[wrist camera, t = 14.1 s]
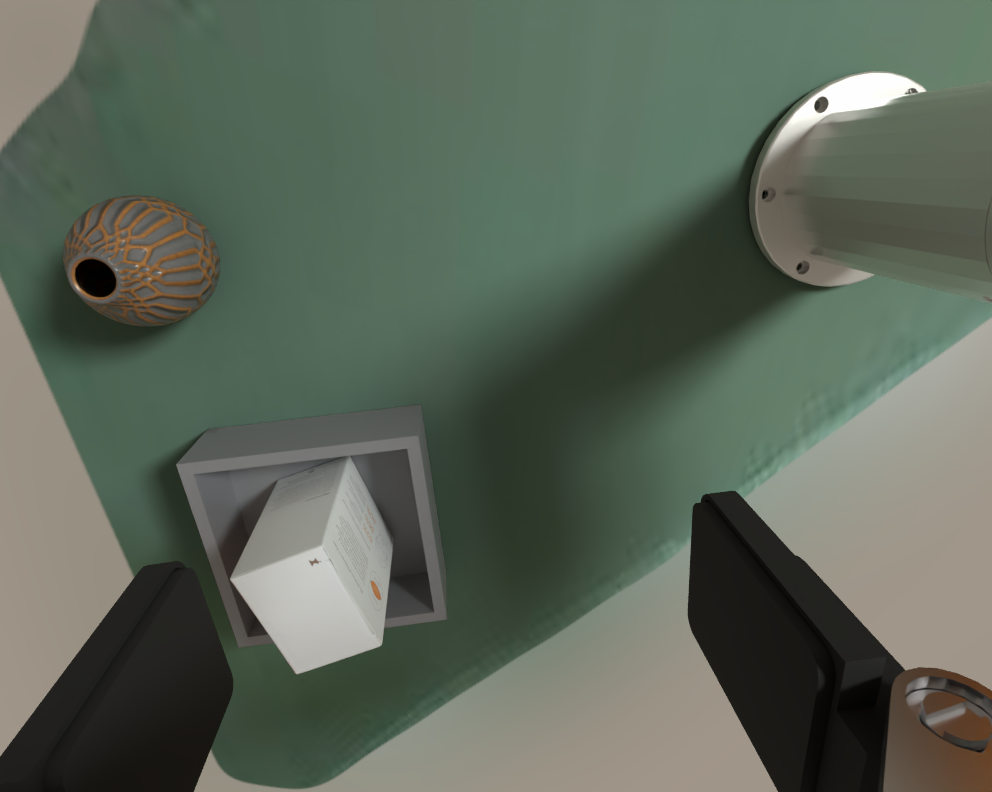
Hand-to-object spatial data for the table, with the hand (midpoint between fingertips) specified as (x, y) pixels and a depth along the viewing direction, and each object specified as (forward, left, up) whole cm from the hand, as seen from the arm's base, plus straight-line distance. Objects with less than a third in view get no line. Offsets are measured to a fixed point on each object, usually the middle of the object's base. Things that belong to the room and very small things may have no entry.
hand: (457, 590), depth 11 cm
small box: (+10, +15, -28) cm, 33 cm away
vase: (+16, -4, -28) cm, 33 cm away
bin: (+10, +15, -28) cm, 34 cm away
